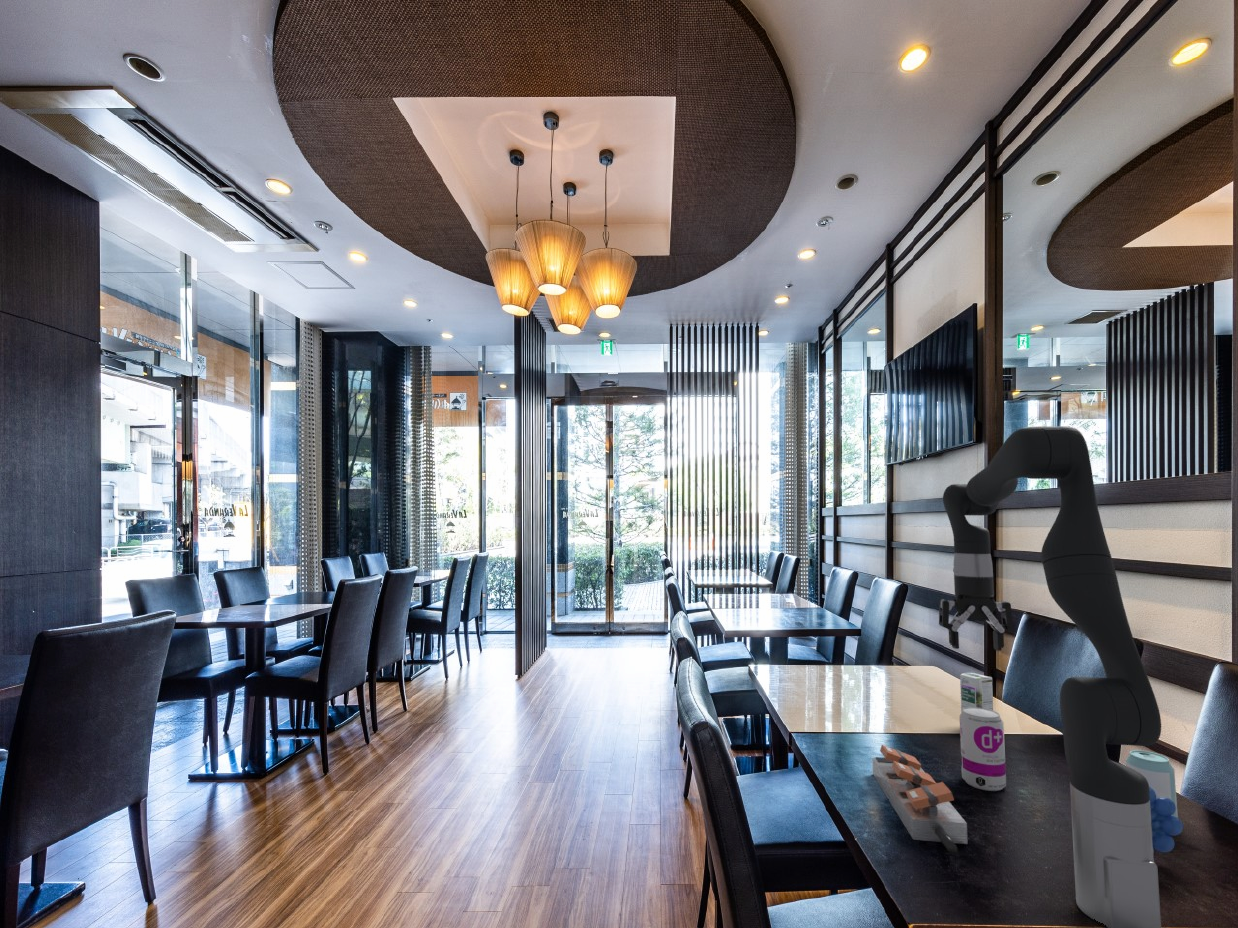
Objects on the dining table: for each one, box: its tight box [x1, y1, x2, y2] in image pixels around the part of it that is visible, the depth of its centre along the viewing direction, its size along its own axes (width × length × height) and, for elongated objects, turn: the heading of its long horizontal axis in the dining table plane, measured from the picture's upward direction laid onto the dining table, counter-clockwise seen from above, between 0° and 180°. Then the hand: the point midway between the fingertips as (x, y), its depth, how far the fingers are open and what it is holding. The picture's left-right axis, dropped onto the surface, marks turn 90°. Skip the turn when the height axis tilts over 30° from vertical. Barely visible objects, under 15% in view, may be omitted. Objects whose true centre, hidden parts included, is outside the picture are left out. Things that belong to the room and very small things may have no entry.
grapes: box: [1149, 787, 1184, 854], centre depth 105 cm, size 12×7×12 cm, turn 62°
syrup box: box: [959, 672, 994, 714], centre depth 166 cm, size 6×6×14 cm
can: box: [1125, 749, 1179, 819], centre depth 117 cm, size 7×7×12 cm
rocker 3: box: [906, 781, 955, 809], centre depth 113 cm, size 4×7×2 cm, turn 81°
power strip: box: [872, 756, 968, 856], centre depth 119 cm, size 34×9×4 cm, turn 171°
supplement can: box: [959, 707, 1007, 792], centre depth 132 cm, size 8×8×15 cm
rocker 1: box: [879, 744, 922, 771], centre depth 131 cm, size 4×7×2 cm, turn 81°
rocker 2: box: [892, 761, 937, 786], centre depth 122 cm, size 4×7×2 cm, turn 81°
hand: (976, 648), depth 134 cm, fingers open, 8 cm apart
